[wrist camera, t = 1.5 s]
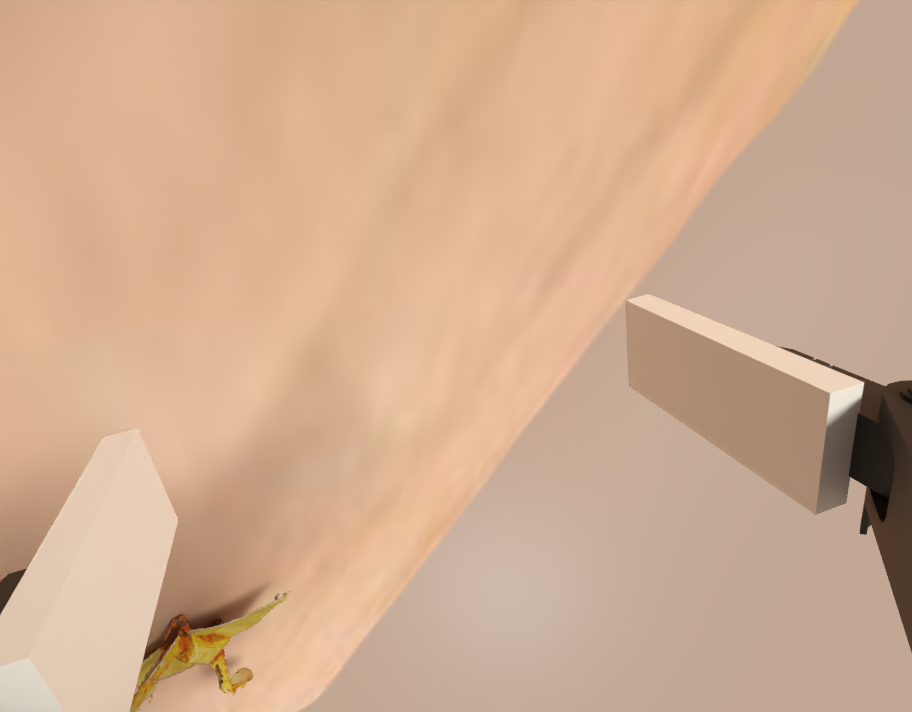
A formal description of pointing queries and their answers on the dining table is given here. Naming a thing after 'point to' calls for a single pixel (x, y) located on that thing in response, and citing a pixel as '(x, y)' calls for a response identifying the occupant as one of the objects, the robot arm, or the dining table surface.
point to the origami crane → (197, 654)
